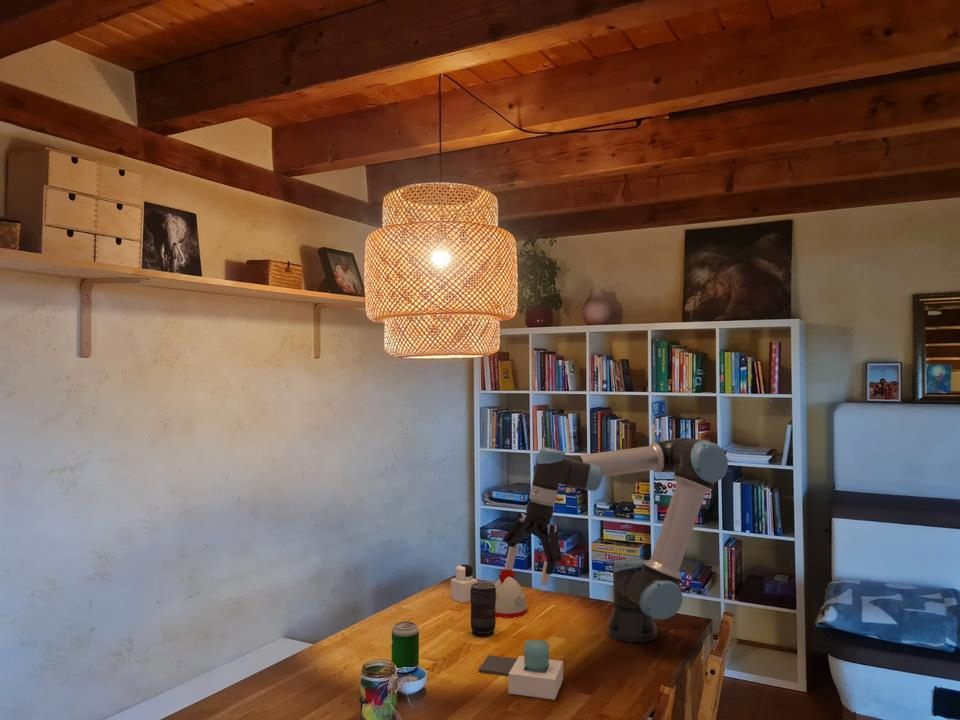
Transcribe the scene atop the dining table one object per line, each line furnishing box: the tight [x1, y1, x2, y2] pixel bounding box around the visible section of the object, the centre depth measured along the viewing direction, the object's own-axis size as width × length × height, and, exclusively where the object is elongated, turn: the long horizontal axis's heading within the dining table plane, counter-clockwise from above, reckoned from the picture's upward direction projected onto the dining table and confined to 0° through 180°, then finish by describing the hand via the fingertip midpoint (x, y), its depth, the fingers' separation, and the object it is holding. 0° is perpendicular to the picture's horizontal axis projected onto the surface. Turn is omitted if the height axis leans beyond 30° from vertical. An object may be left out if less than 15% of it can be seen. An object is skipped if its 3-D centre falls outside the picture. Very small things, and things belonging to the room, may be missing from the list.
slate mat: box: [478, 654, 518, 677], centre depth 196 cm, size 10×10×1 cm
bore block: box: [507, 655, 564, 701], centre depth 184 cm, size 12×12×5 cm
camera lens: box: [469, 581, 497, 638], centre depth 222 cm, size 8×8×15 cm
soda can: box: [391, 621, 420, 668], centre depth 195 cm, size 8×8×12 cm
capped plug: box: [523, 639, 550, 673], centre depth 184 cm, size 6×6×11 cm
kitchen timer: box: [493, 567, 528, 619], centre depth 242 cm, size 14×14×15 cm
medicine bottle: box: [450, 564, 479, 604], centre depth 255 cm, size 7×7×12 cm
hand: (525, 577), depth 198 cm, fingers open, 13 cm apart
